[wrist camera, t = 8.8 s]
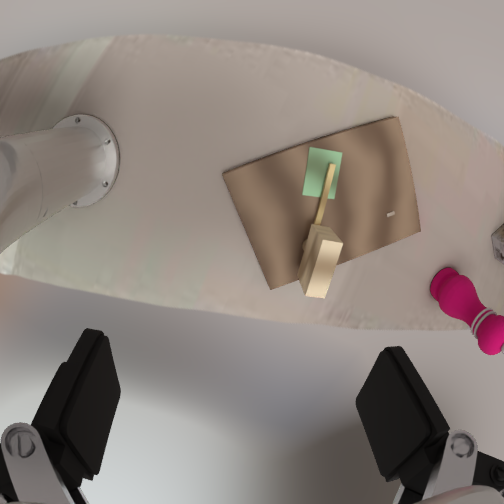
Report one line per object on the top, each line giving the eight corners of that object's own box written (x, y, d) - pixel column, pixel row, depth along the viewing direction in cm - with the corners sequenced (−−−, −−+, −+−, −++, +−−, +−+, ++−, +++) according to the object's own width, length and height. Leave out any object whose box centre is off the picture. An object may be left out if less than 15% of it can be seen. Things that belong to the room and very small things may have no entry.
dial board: (269, 284, 43) (270, 290, 41) (222, 173, 36) (222, 175, 35) (415, 227, 41) (421, 231, 39) (392, 116, 34) (399, 116, 32)
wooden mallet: (311, 270, 40) (324, 298, 34) (294, 267, 40) (305, 295, 34) (340, 165, 35) (362, 176, 28) (322, 161, 34) (341, 170, 28)
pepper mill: (449, 256, 43) (524, 322, 25) (462, 279, 46) (527, 343, 27) (421, 285, 45) (488, 361, 27) (436, 306, 47) (495, 377, 29)
